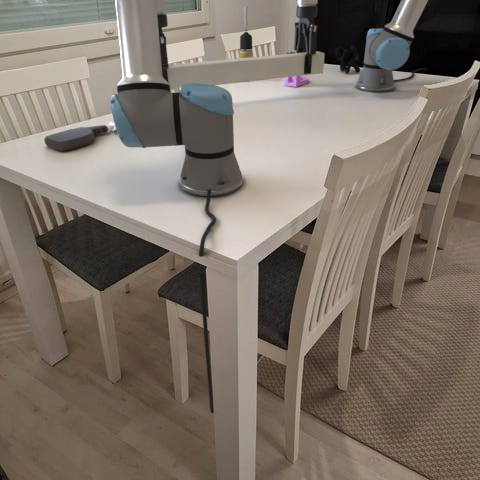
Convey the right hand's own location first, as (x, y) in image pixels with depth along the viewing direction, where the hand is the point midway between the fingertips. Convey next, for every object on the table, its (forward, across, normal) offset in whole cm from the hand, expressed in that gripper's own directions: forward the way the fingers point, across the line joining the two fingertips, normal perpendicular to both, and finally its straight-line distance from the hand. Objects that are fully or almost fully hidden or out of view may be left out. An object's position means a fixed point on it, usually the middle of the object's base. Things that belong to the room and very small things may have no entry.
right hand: (303, 72), depth 174 cm
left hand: (0, 0, +56) cm, 56 cm away
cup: (+10, +46, -21) cm, 52 cm away
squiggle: (+10, +31, -43) cm, 53 cm away
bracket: (+9, +20, -9) cm, 24 cm away
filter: (+9, +36, +9) cm, 38 cm away
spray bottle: (+9, -16, +85) cm, 87 cm away
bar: (0, 0, +28) cm, 28 cm away
